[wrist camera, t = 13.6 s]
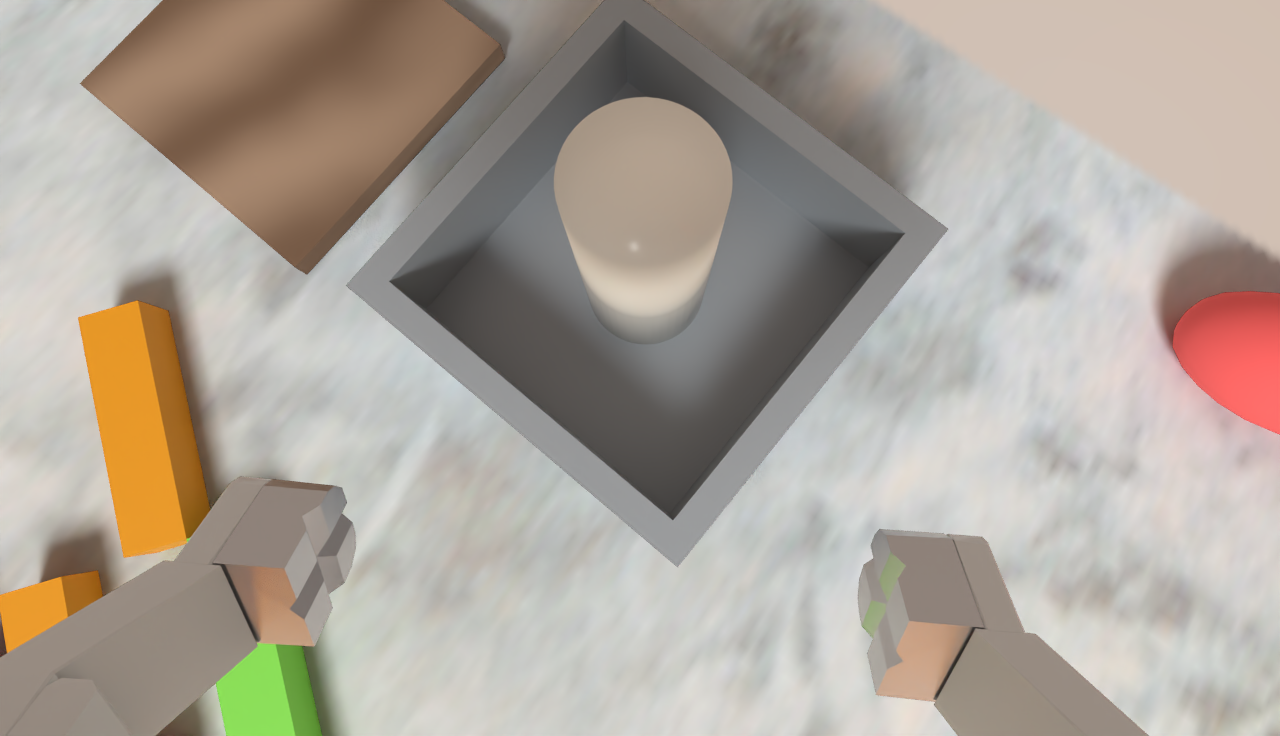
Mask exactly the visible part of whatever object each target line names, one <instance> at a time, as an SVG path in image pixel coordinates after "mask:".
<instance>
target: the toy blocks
mask: <svg viewBox="0 0 1280 736" xmlns="http://www.w3.org/2000/svg"><path fill="white" fill-rule="evenodd" d="M78 320H79V325H80V331H81V336H82V341H83V346H84V352H85V357H86V362H87V367H88V373H89V378H90V383H91V388H92V394H93V399H94V404H95V409H96V415H97V420H98V425H99V430H100V436H101V441H102V446H103V451H104V457H105V462H106V467H107V472H108V478H109V483H110V488H111V493H112V499H113V504H114V509H115V514H116V519H117V525H118V530H119V535H120V540H121V546H122V551H123V556H124V558H125V557H132V556H138V555H145V554H151V553H157V552H161V551H164V550H167V549H170V548H174V547H177V546H180V545H184V544H186V543H187V542H188V541H189V539H190V538H191V536H192V535H193V534H194V532H195V531H196V530H197V528H198V527H199V525H200V524H201V523H202V521H203V520H204V518H205V517H206V516H207V514H208V513H209V511H210V506H209V502H208V497H207V492H206V487H205V483H204V478H203V473H202V468H201V463H200V459H199V454H198V449H197V444H196V440H195V435H194V430H193V425H192V420H191V416H190V411H189V406H188V401H187V397H186V392H185V387H184V382H183V378H182V373H181V368H180V363H179V358H178V354H177V349H176V344H175V339H174V335H173V330H172V325H171V320H170V316H169V311H167V310H164V309H162V308H159V307H156V306H153V305H150V304H147V303H144V302H141V301H138V300H137V301H134V302H130V303H127V304H123V305H120V306H116V307H113V308H110V309H106V310H103V311H99V312H96V313H92V314H89V315H85V316H82V317H79V318H78ZM101 597H103V594H102V588H101V583H100V578H99V572H98V570H97V571H91V572H85V573H80V574H74V575H68V576H62V577H58V578H55V579H52V580H48V581H45V582H42V583H38V584H35V585H32V586H28V587H25V588H22V589H18V590H15V591H12V592H8V593H5V594H2V595H0V614H1V620H2V626H3V632H4V638H5V644H6V650H7V653H8V652H10V651H12V650H14V649H15V648H17V647H19V646H20V645H22V644H24V643H25V642H27V641H29V640H30V639H32V638H34V637H35V636H37V635H39V634H41V633H42V632H44V631H46V630H47V629H49V628H51V627H52V626H54V625H56V624H57V623H59V622H61V621H63V620H64V619H66V618H68V617H69V616H71V615H73V614H74V613H76V612H78V611H79V610H81V609H83V608H84V607H86V606H88V605H90V604H91V603H93V602H95V601H96V600H98V599H100V598H101ZM257 645H258V647H257V648H256V649H254V650H253V651H252V652H251V653H250V654H249V655H247V656H246V657H245V658H244V659H243V660H242V661H241V662H239V663H238V664H237V665H236V666H235V667H234V668H233V669H231V670H230V671H229V672H228V673H227V674H226V675H224V676H223V677H222V678H221V679H220V680H219V681H218V682H216V687H217V692H218V696H219V701H220V706H221V711H222V716H223V721H224V726H225V731H226V736H322V733H321V728H320V724H319V719H318V715H317V710H316V706H315V701H314V697H313V692H312V688H311V683H310V679H309V674H308V670H307V665H306V661H305V656H304V652H303V647H302V646H298V645H281V644H264V643H257Z"/></svg>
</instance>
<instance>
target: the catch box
mask: <svg viewBox="0 0 1280 736" xmlns="http://www.w3.org/2000/svg"><path fill="white" fill-rule="evenodd" d="M635 97H651V98H660V99H664V100H669V101H672V102H675V103H678V104H680V105H682V106H684V107H686V108H688V109H690V110H692V111H693V112H695V113H696V114H698V115H699V116H701V117H702V118H703V119H704V120H705V121H706V122H707V123H708V124H709V125H710V126H711V127H712V128H713V129H714V130H715V131H716V133H717V134H718V136H719V137H720V139H721V140H722V142H723V144H724V146H725V148H726V150H727V153H728V156H729V159H730V163H731V169H732V180H733V185H732V195H731V199H730V203H729V207H728V211H727V214H726V218H725V221H724V225H723V229H722V232H721V236H720V239H719V243H718V247H717V250H716V254H715V257H714V261H713V264H712V268H711V272H710V275H709V279H708V282H707V286H706V289H705V293H704V297H703V300H702V304H701V307H700V309H699V312H698V313H697V315H696V317H695V319H694V320H693V321H692V323H691V324H690V325H689V326H688V327H687V328H686V329H685V330H684V331H683V332H681V333H680V334H679V335H677V336H675V337H674V338H672V339H669V340H667V341H664V342H661V343H656V344H635V343H631V342H627V341H625V340H622V339H620V338H618V337H616V336H615V335H613V334H612V333H610V332H609V331H608V330H607V329H606V328H605V327H604V326H603V325H602V324H601V323H600V322H599V320H598V319H597V317H596V316H595V314H594V312H593V309H592V307H591V304H590V301H589V298H588V295H587V292H586V289H585V286H584V283H583V281H582V278H581V275H580V272H579V269H578V266H577V263H576V260H575V257H574V254H573V251H572V248H571V245H570V242H569V239H568V236H567V233H566V230H565V227H564V225H563V222H562V219H561V216H560V213H559V210H558V206H557V203H556V199H555V192H554V172H555V166H556V162H557V158H558V155H559V153H560V150H561V148H562V146H563V144H564V142H565V141H566V139H567V137H568V136H569V134H570V133H571V132H572V130H573V129H574V128H575V127H576V126H577V125H578V124H579V123H580V122H581V121H582V120H583V119H584V118H585V117H587V116H588V115H589V114H591V113H592V112H594V111H595V110H597V109H599V108H601V107H603V106H605V105H607V104H610V103H612V102H615V101H619V100H623V99H628V98H635ZM947 230H948V228H946V227H945V226H944V225H942V224H941V223H940V222H938V221H937V220H936V219H934V218H933V217H932V216H930V215H929V214H928V213H926V212H925V211H924V210H922V209H921V208H920V207H918V206H917V205H916V204H914V203H913V202H912V201H910V200H909V199H908V198H907V197H905V196H904V195H903V194H901V193H900V192H899V191H897V190H896V189H895V188H893V187H892V186H891V185H889V184H888V183H887V182H885V181H884V180H883V179H881V178H880V177H879V176H877V175H876V174H875V173H873V172H872V171H871V170H869V169H868V168H867V167H865V166H864V165H863V164H861V163H860V162H859V161H857V160H856V159H855V158H853V157H852V156H851V155H849V154H848V153H847V152H845V151H844V150H843V149H841V148H840V147H839V146H837V145H836V144H835V143H833V142H832V141H831V140H829V139H828V138H827V137H825V136H824V135H823V134H821V133H820V132H819V131H817V130H816V129H815V128H813V127H812V126H811V125H809V124H808V123H807V122H805V121H804V120H803V119H801V118H800V117H799V116H797V115H796V114H795V113H793V112H792V111H791V110H789V109H788V108H787V107H785V106H784V105H783V104H781V103H780V102H779V101H777V100H776V99H775V98H773V97H772V96H771V95H769V94H768V93H767V92H765V91H764V90H763V89H761V88H760V87H759V86H757V85H756V84H755V83H753V82H752V81H751V80H749V79H748V78H747V77H745V76H744V75H743V74H741V73H740V72H739V71H737V70H736V69H735V68H733V67H732V66H731V65H729V64H728V63H727V62H726V61H724V60H723V59H722V58H720V57H719V56H718V55H716V54H715V53H714V52H712V51H711V50H710V49H708V48H707V47H706V46H704V45H703V44H702V43H700V42H699V41H698V40H696V39H695V38H694V37H692V36H691V35H690V34H688V33H687V32H686V31H684V30H683V29H682V28H680V27H679V26H678V25H676V24H675V23H674V22H672V21H671V20H670V19H668V18H667V17H666V16H664V15H663V14H662V13H660V12H659V11H658V10H656V9H655V8H654V7H652V6H651V5H650V4H648V3H647V2H646V1H644V0H604V1H603V2H602V3H601V4H600V6H599V7H598V8H597V9H596V10H595V11H594V12H593V13H592V14H591V16H590V17H589V18H588V19H587V20H586V21H585V22H584V23H583V24H582V25H581V27H580V28H579V29H578V30H577V31H576V32H575V33H574V34H573V35H572V36H571V38H570V39H569V40H568V41H567V42H566V43H565V44H564V45H563V46H562V47H561V49H560V50H559V51H558V52H557V53H556V54H555V55H554V56H553V57H552V59H551V60H550V61H549V62H548V63H547V64H546V65H545V66H544V67H543V68H542V70H541V71H540V72H539V73H538V74H537V75H536V76H535V77H534V78H533V79H532V81H531V82H530V83H529V84H528V85H527V86H526V87H525V88H524V89H523V91H522V92H521V93H520V94H519V95H518V96H517V97H516V98H515V99H514V100H513V102H512V103H511V104H510V105H509V106H508V107H507V108H506V109H505V110H504V111H503V113H502V114H501V115H500V116H499V117H498V118H497V119H496V120H495V121H494V123H493V124H492V125H491V126H490V127H489V128H488V129H487V130H486V131H485V132H484V134H483V135H482V136H481V137H480V138H479V139H478V140H477V141H476V142H475V143H474V145H473V146H472V147H471V148H470V149H469V150H468V151H467V152H466V153H465V155H464V156H463V157H462V158H461V159H460V160H459V161H458V162H457V163H456V164H455V166H454V167H453V168H452V169H451V170H450V171H449V172H448V173H447V174H446V175H445V177H444V178H443V179H442V180H441V181H440V182H439V183H438V184H437V185H436V187H435V188H434V189H433V190H432V191H431V192H430V193H429V194H428V195H427V196H426V198H425V199H424V200H423V201H422V202H421V203H420V204H419V205H418V206H417V207H416V209H415V210H414V211H413V212H412V213H411V214H410V215H409V216H408V217H407V218H406V220H405V221H404V222H403V223H402V224H401V225H400V226H399V227H398V228H397V230H396V231H395V232H394V233H393V234H392V235H391V236H390V237H389V238H388V239H387V241H386V242H385V243H384V244H383V245H382V246H381V247H380V248H379V249H378V250H377V252H376V253H375V254H374V255H373V256H372V257H371V258H370V259H369V260H368V262H367V263H366V264H365V265H364V266H363V267H362V268H361V269H360V270H359V271H358V273H357V274H356V275H355V276H354V277H353V278H352V279H351V280H350V281H349V282H348V284H347V285H346V286H347V287H348V288H349V289H351V290H352V291H353V292H354V293H355V294H356V295H358V296H359V297H360V298H361V299H362V300H364V301H365V302H366V303H367V304H368V305H369V306H371V307H372V308H373V309H374V310H375V311H376V312H378V313H379V314H380V315H381V316H382V317H384V318H385V319H386V320H387V321H388V322H389V323H391V324H392V325H393V326H394V327H395V328H396V329H398V330H399V331H400V332H401V333H402V334H404V335H405V336H406V337H407V338H408V339H409V340H411V341H412V342H413V343H414V344H415V345H416V346H418V347H419V348H420V349H421V350H422V351H424V352H425V353H426V354H427V355H428V356H429V357H431V358H432V359H433V360H434V361H435V362H437V363H438V364H439V365H440V366H441V367H442V368H444V369H445V370H446V371H447V372H448V373H449V374H451V375H452V376H453V377H454V378H455V379H457V380H458V381H459V382H460V383H461V384H462V385H464V386H465V387H466V388H467V389H468V390H469V391H471V392H472V393H473V394H474V395H475V396H477V397H478V398H479V399H480V400H481V401H482V402H484V403H485V404H486V405H487V406H488V407H489V408H491V409H492V410H493V411H494V412H495V413H497V414H498V415H499V416H500V417H501V418H502V419H504V420H505V421H506V422H507V423H508V424H510V425H511V426H512V427H513V428H514V429H515V430H517V431H518V432H519V433H520V434H521V435H522V436H524V437H525V438H526V439H527V440H528V441H530V442H531V443H532V444H533V445H534V446H535V447H537V448H538V449H539V450H540V451H541V452H542V453H544V454H545V455H546V456H547V457H548V458H550V459H551V460H552V461H553V462H554V463H555V464H557V465H558V466H559V467H560V468H561V469H562V470H564V471H565V472H566V473H567V474H568V475H570V476H571V477H572V478H573V479H574V480H575V481H577V482H578V483H579V484H580V485H581V486H582V487H584V488H585V489H586V490H587V491H588V492H590V493H591V494H592V495H593V496H594V497H595V498H597V499H598V500H599V501H600V502H601V503H603V504H604V505H605V506H606V507H607V508H608V509H610V510H611V511H612V512H613V513H614V514H615V515H617V516H618V517H619V518H620V519H621V520H623V521H624V522H625V523H626V524H627V525H628V526H630V527H631V528H632V529H633V530H634V531H635V532H637V533H638V534H639V535H640V536H641V537H643V538H644V539H645V540H646V541H647V542H648V543H650V544H651V545H652V546H653V547H654V548H655V549H657V550H658V551H659V552H660V553H661V554H663V555H664V556H665V557H666V558H667V559H668V560H670V561H671V562H672V563H673V564H674V565H675V566H677V567H678V566H679V565H680V564H681V562H682V561H683V560H684V559H685V557H686V556H687V555H688V554H689V552H690V551H691V550H692V549H693V547H694V546H695V545H696V544H697V542H698V541H699V540H700V539H701V537H702V536H703V535H704V534H705V532H706V531H707V530H708V529H709V527H710V526H711V525H712V524H713V522H714V521H715V520H716V519H717V517H718V516H719V515H720V514H721V512H722V511H723V510H724V509H725V507H726V506H727V505H728V504H729V502H730V501H731V500H732V499H733V497H734V496H735V495H736V494H737V493H738V491H739V490H740V489H741V488H742V486H743V485H744V484H745V483H746V481H747V480H748V479H749V478H750V476H751V475H752V474H753V473H754V471H755V470H756V469H757V468H758V466H759V465H760V464H761V463H762V461H763V460H764V459H765V458H766V456H767V455H768V454H769V453H770V451H771V450H772V449H773V448H774V446H775V445H776V444H777V443H778V441H779V440H780V439H781V438H782V436H783V435H784V434H785V433H786V431H787V430H788V429H789V428H790V426H791V425H792V424H793V423H794V421H795V420H796V419H797V418H798V416H799V415H800V414H801V413H802V411H803V410H804V409H805V408H806V406H807V405H808V404H809V403H810V401H811V400H812V399H813V398H814V396H815V395H816V394H817V393H818V391H819V390H820V389H821V388H822V386H823V385H824V384H825V383H826V381H827V380H828V379H829V378H830V376H831V375H832V374H833V373H834V371H835V370H836V369H837V368H838V366H839V365H840V364H841V363H842V361H843V360H844V359H845V358H846V356H847V355H848V354H849V353H850V351H851V350H852V349H853V348H854V346H855V345H856V344H857V343H858V341H859V340H860V339H861V338H862V336H863V335H864V334H865V333H866V331H867V330H868V329H869V328H870V326H871V325H872V324H873V323H874V321H875V320H876V319H877V318H878V316H879V315H880V314H881V313H882V311H883V310H884V309H885V308H886V306H887V305H888V304H889V303H890V301H891V300H892V299H893V298H894V296H895V295H896V294H897V293H898V291H899V290H900V289H901V288H902V286H903V285H904V284H905V283H906V281H907V280H908V279H909V278H910V276H911V275H912V274H913V273H914V271H915V270H916V269H917V268H918V266H919V265H920V264H921V263H922V261H923V260H924V259H925V258H926V256H927V255H928V254H929V253H930V251H931V250H932V249H933V248H934V246H935V245H936V244H937V243H938V241H939V240H940V239H941V238H942V236H943V235H944V234H945V233H946V231H947Z"/></svg>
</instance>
